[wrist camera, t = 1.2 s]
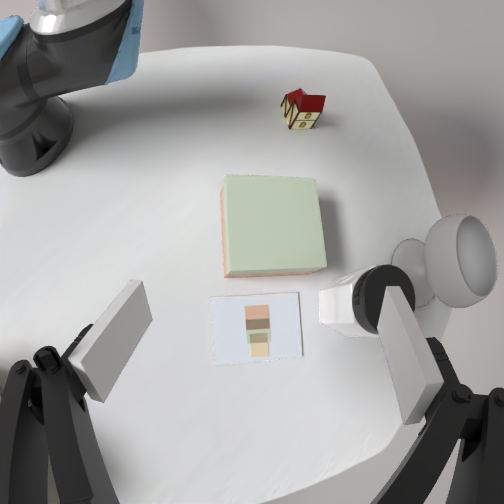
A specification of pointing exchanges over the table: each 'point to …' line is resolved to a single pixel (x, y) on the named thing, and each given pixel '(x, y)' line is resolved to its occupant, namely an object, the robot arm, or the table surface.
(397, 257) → the chalice
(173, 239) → the table surface
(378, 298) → the jar
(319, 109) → the toy house
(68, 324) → the table surface
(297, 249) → the tower base
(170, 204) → the table surface
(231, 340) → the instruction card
